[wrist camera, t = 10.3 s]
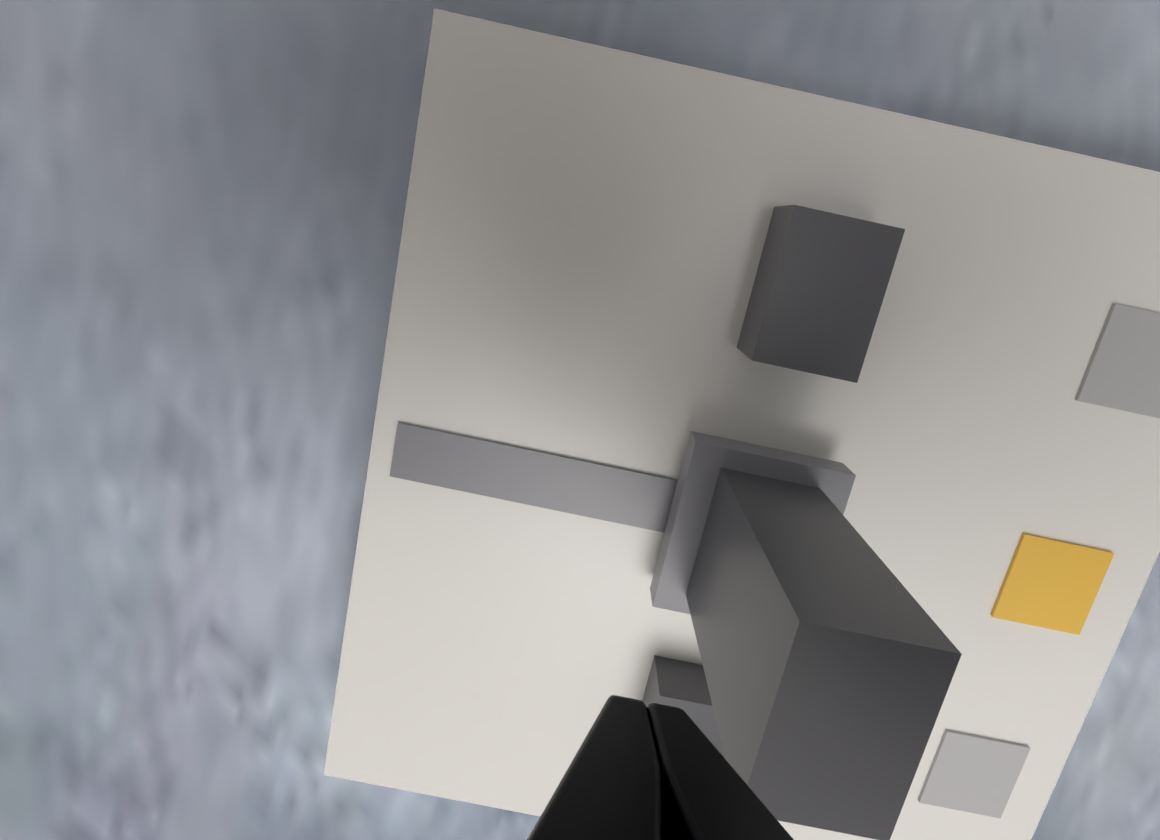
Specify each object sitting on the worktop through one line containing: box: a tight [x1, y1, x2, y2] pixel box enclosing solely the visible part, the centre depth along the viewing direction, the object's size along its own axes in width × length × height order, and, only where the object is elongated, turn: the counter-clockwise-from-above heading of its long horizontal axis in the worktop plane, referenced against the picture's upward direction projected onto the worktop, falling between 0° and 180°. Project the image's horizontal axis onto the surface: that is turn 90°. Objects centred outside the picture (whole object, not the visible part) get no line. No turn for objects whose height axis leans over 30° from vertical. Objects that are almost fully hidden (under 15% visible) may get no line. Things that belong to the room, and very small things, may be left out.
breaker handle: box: [650, 431, 962, 840], centre depth 12 cm, size 3×4×7 cm
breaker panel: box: [324, 8, 1160, 840], centre depth 17 cm, size 17×17×4 cm
